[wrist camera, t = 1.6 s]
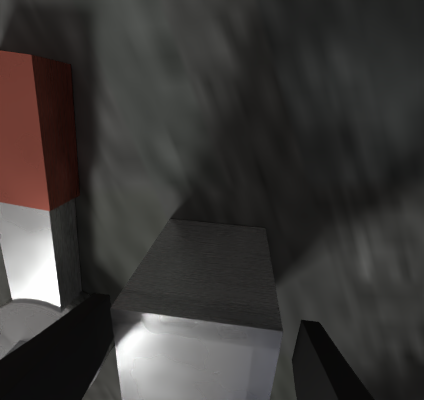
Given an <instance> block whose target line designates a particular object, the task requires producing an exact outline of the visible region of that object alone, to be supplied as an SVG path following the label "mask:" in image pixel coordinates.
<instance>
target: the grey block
mask: <svg viewBox="0 0 424 400" xmlns="http://www.w3.org/2000/svg"><path fill="white" fill-rule="evenodd" d="M110 311H111V318H112V326H113V334H114V341H115V349H116V357H117V364H118V372H119V379H120V387H121V395H122V400H270V395H271V390H272V385H273V380H274V375H275V370H276V365H277V360H278V355H279V350H280V345H281V340H282V335H283V328H282V322H281V316H280V310H279V304H278V299H277V293H276V287H275V281H274V275H273V270H272V264H271V258H270V252H269V246H268V241H267V235H266V229H265V228H260V227H250V226H239V225H229V224H218V223H208V222H198V221H187V220H177V219H169V221H168V222H167V224H166V225H165V227H164V228H163V230H162V231H161V233H160V234H159V236H158V237H157V239H156V240H155V242H154V243H153V245H152V246H151V248H150V249H149V251H148V252H147V254H146V255H145V257H144V258H143V260H142V261H141V263H140V264H139V266H138V267H137V269H136V270H135V272H134V273H133V275H132V276H131V278H130V279H129V281H128V282H127V284H126V285H125V287H124V288H123V290H122V291H121V293H120V294H119V296H118V297H117V299H116V300H115V302H114V303H113V305H112V306H111V308H110Z"/></svg>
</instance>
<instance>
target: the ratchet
mask: <svg viewBox="0 0 424 400" xmlns="http://www.w3.org/2000/svg"><path fill="white" fill-rule="evenodd" d="M79 195H80V191H79V176H78V162H77V147H76V132H75V118H74V103H73V89H72V74H71V64H67V63H63V62H59V61H55V60H51V59H46V58H42V57H38V56H34V55H29V54H22V53H15V52H7V51H0V243H1V248H2V253H3V258H4V262H5V267H6V272H7V277H8V281H9V286H10V291H11V296H12V298H11V299H10V300H9V301H7V302H6V303H5V304H4V305H2V306H1V307H0V360H1V359H2V358H4V357H5V356H6V355H8V354H9V353H11V352H12V351H14V350H15V349H17V348H18V347H20V346H21V345H23V344H24V343H26V342H27V341H29V340H30V339H32V338H33V337H35V336H36V335H37V334H39V333H40V332H42V331H43V330H44V329H46V328H47V327H49V326H50V325H51V324H53V323H54V322H56V321H57V320H58V319H60V318H61V317H62V316H64V315H65V314H67V313H68V312H69V311H71V310H72V309H73V308H75V307H76V306H77V305H79V304H80V303H81V302H83V301H84V300H86V299H87V298H88V297H90V295H88V294H87V293H85V292H83V291H82V288H81V275H80V262H79V249H78V236H77V223H76V210H75V198H76V197H77V196H79ZM114 342H115V341H114V337H113V339H112V342H111V344H110V346H109V349H108V351H107V353H106V356H105V358H104V360H103V362H102V364H101V366H100V368H99V370H98V371H97V373H96V375H95V377H94V379H93V380H92V382H91V384H90V386H91V385H92V384H93V382H94V380H95V379H96V377H97V375H98V373H99V371H100V370H101V368H102V366H103V364H104V362H105V360H106V359H107V357H108V355H109V353H110V351H111V349H112V347H113V345H114ZM90 386H89V387H90ZM89 387H88V388H89Z"/></svg>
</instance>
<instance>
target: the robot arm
mask: <svg viewBox="0 0 424 400" xmlns="http://www.w3.org/2000/svg"><path fill="white" fill-rule="evenodd" d="M110 308H111V304H110V296H109V295H105V294H97V293H94V294H93V295H91V296H90V297H88V298H87V299H86V300H84V301H83V302H81V303H80V304H79V305H77V306H76V307H75V308H73V309H72V310H71V311H69V312H68V313H67V314H65V315H64V316H62V317H61V318H60V319H58V320H57V321H56V322H54V323H53V324H51V325H50V326H49V327H47V328H46V329H44V330H43V331H42V332H40V333H39V334H37V335H36V336H35V337H33V338H32V339H30V340H29V341H27V342H26V343H24V344H23V345H21V346H20V347H18V348H17V349H15V350H14V351H12V352H11V353H9V354H8V355H6V356H5V357H4V358H2V359H1V360H0V400H82V398H83V396H84V394H85V393H86V391H87V389H88V387H89V386H90V384H91V382H92V380H93V379H94V377H95V375H96V373H97V371H98V370H99V368H100V366H101V364H102V362H103V360H104V358H105V356H106V353H107V351H108V349H109V346H110V344H111V342H112V339H113V337H114V334H113V326H112V318H111V311H110ZM292 364H293V373H294V382H295V390H296V396H297V400H374V398H373V397H372V396H371V394H370V393H369V392H368V390H367V389H366V388H365V386H364V385H363V384H362V382H361V381H360V380H359V378H358V377H357V375H356V374H355V373H354V371H353V370H352V369H351V367H350V366H349V364H348V363H347V362H346V360H345V359H344V357H343V356H342V354H341V353H340V352H339V350H338V349H337V347H336V346H335V344H334V343H333V341H332V340H331V338H330V337H329V335H328V334H327V332H326V331H325V329H324V328H323V327H322V325H321V324H320V323H319V322H314V321H306V320H301V324H300V328H299V332H298V336H297V341H296V345H295V349H294V354H293V358H292Z"/></svg>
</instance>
